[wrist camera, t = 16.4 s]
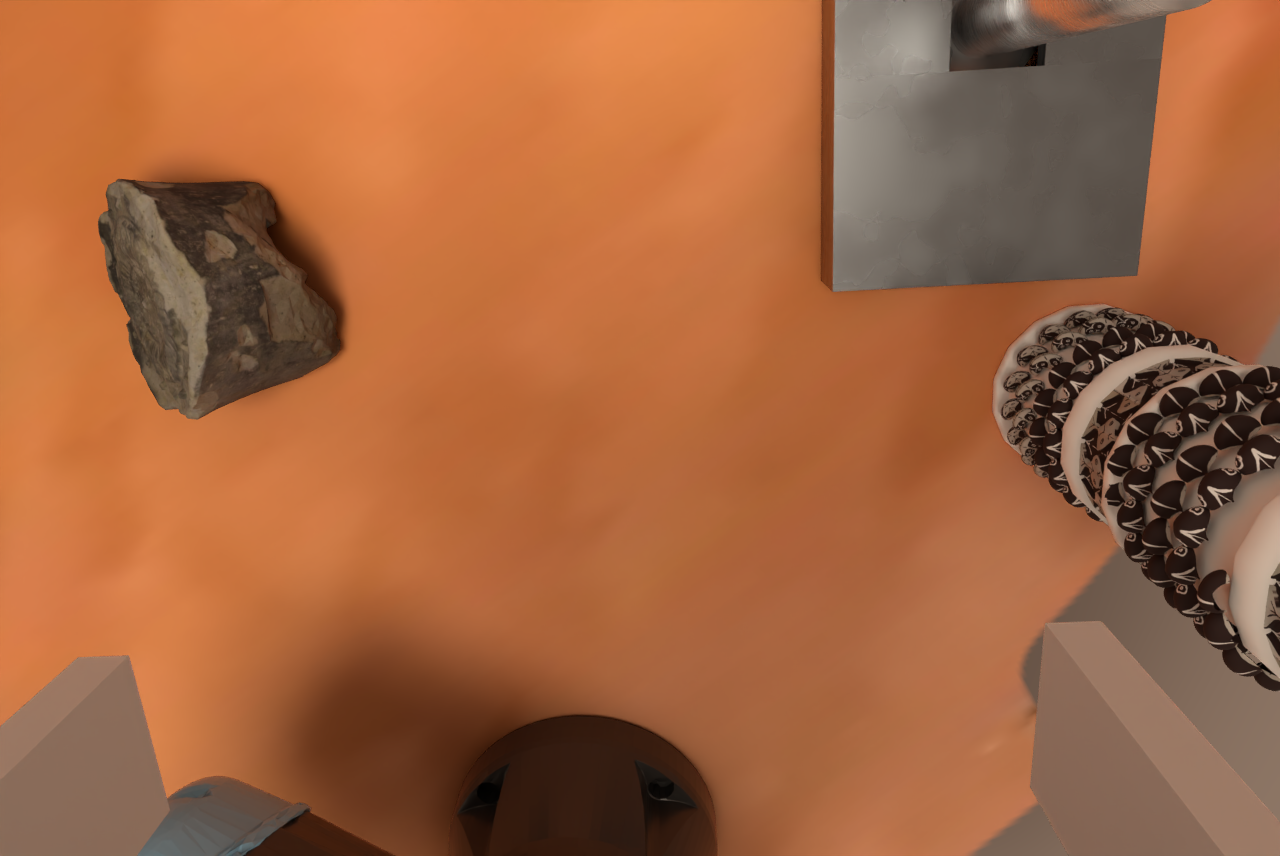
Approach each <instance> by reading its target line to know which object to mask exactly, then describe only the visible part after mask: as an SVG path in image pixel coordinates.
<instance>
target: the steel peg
mask: <svg viewBox="0 0 1280 856" xmlns="http://www.w3.org/2000/svg"><path fill="white" fill-rule="evenodd" d="M1209 1H1211V0H952V15H951V37H950V60H949V72H950V71H966V70H982V69H998V68H1013V67H1024V66H1025V65H1026V63H1027V62H1028V61H1029V60H1030V58H1031V57H1032V55H1033V54H1034V52H1035V50H1036V49H1037V47H1038V45H1041V44H1045V43H1049V42H1054V41H1058V40H1062V39H1066V38H1071V37H1075V36H1079V35H1083V34H1087V33H1092V32H1096V31H1100V30H1104V29H1108V28H1113V27H1117V26H1121V25H1125V24H1129V23H1134V22H1138V21H1142V20H1146V19H1151V18H1155V17H1159V16H1163V15H1167V14H1172V13H1176V12H1180V11H1184V10H1188V9H1192V8H1196V7H1199V6H1201V5H1204V4H1205V3H1207V2H1209Z"/></svg>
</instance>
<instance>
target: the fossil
mask: <svg viewBox="0 0 1280 856" xmlns="http://www.w3.org/2000/svg"><path fill="white" fill-rule="evenodd" d="M106 197H107V201H108V209H109V210H108V211H106V212H104V213H102V214H101V215H100V218H99V221H98V228H99V234H100V238H101V241H102V243H103V244H104V246H105V256H106V266H107V271H108V276H109V280H110V282H111V284H112V286H113V288H114V290H115V292H116V293H118V295H119V297H120V299H121V301H122V302H123V305H124V307H125V309H126V311H127V313H128V315H129V317H130V318H131V319H130V320H129V321H128V324H126V325H127V328H128V332H129V343H130V346H131V349H132V352H133V355H134V357H135V359H136V361H137V362H138V364H139V365H140V368H141V373H142V375H143V376H144V378H145V380H146V382H147V384H148V386H149V388H150V390H151V392H152V393H153V395H154V397H155V398H156V400H157V402H158V404H159V405H160V406H161V407H162V408H164V409H165V410H170V409H179V412H180V413H181V414H183V415H186V417H187V418H188V419H199V418H201V417H203V416H205V415H207V414H208V413H210V412H212V411H214V410H216V409H218V408H220V407H222V406H225V405H227V404H229V403H231V402H234V401H236V400H238V399H241V398H243V397H245V396H248V395H250V394H253V393H255V392H258V391H261V390H264V389H267V388H270V387H272V386H276V385H279V384H282V383H285V382H288V381H291V380H294V379H297V378H300V377H302V376H304V375H306V374H307V373H309V372H311V371H313V370H314V369H316V368H318V367H320V366H322V365H324V364H326V363H328V362H329V361H330V360H331V359H332V358H333V357H334V356H335V355H336V354H337V353H338V352H339V350H340V340H339V339H338V338H337V332H336V329H335V327H336V321H337V316H336V314H335V312H334V310H333V309H332V308H331V307H330V306H329V305H328V304H327V302H326V301H324V300H323V298H321V297H319V295H318V294H317V293H316V292H315V291H314V290H313V289H311V288H310V287H308V286H307V285H306V284H305V281H306V278H307V276H308V275H307V273H306V272H305V271H304V270H303V269H301V268H300V267H298V266H296V265H294V264H293V263H291V262H289V261H288V260H287V259H286V258H285V257H284V256H283V255H282V254H281V253H280V252H279V251H278V250H277V249H276V247H275V245H274V244H273V242H272V239H271V238H270V236H269V235H268V233H267V228H269V227H270V226H271V225H273V224H275V223H276V215H275V212H274V207H275V202H274V200H273V198H272V196H271V195H270V193H269V192H268V191H267V190H266V189H264V188H263V187H262V186H261V185H260V184H259V183H254V182H245V181H240V182H209V183H165V182H144V181H136V180H126V179H118V180H117V181H116V182H114V183H112V184H110V185H108V188H107V191H106Z"/></svg>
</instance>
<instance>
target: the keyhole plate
mask: <svg viewBox="0 0 1280 856" xmlns="http://www.w3.org/2000/svg"><path fill="white" fill-rule="evenodd" d="M951 15H952V0H822V143H821V281H822V282H823V283H824V284H825V285H826V286H827V287H828V288H829V289H831V290H832V291H833V292H837V291H856V290H875V289H893V288H912V287H931V286H950V285H969V284H988V283H1007V282H1026V281H1045V280H1064V279H1083V278H1102V277H1121V276H1137V274H1138V265H1139V256H1140V247H1141V238H1142V229H1143V220H1144V211H1145V202H1146V193H1147V184H1148V175H1149V166H1150V157H1151V148H1152V139H1153V130H1154V121H1155V112H1156V103H1157V94H1158V85H1159V76H1160V67H1161V59H1162V50H1163V41H1164V32H1165V23H1166V15H1163V16H1159V17H1155V18H1151V19H1146V20H1142V21H1138V22H1134V23H1129V24H1125V25H1121V26H1117V27H1113V28H1108V29H1104V30H1100V31H1096V32H1092V33H1087V34H1083V35H1079V36H1075V37H1071V38H1066V39H1062V40H1058V41H1054V42H1049V43H1045V44H1041V45H1038V58H1037V66H1029V67H1013V68H998V69H982V70H966V71H950V72H949V60H950V37H951Z"/></svg>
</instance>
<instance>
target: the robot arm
mask: <svg viewBox="0 0 1280 856" xmlns="http://www.w3.org/2000/svg"><path fill="white" fill-rule="evenodd" d="M1041 662H1042V663H1041V672H1040V673H1041V674H1040V684H1039V694H1038V705H1037V716H1036V727H1035V738H1034V749H1033V760H1032V771H1031V782H1030V787H1031V789H1032V791H1033V793H1034V795H1035V796H1036V798H1037V800H1038V802H1039V804H1040V806H1041V807H1042V809H1043V811H1044V813H1045V815H1046V816H1047V818H1048V820H1049V822H1050V823H1051V825H1052V827H1053V829H1054V830H1055V832H1056V834H1057V836H1058V838H1059V840H1060V841H1061V843H1062V845H1063V847H1064V849H1065V850H1066V852H1067V854H1068V856H1280V821H1278V819H1277V818H1276V817H1275V816H1274V815H1273V814H1272V813H1271V811H1270V810H1269V809H1268V808H1267V807H1266V806H1265V805H1264V804H1263V802H1262V801H1261V800H1260V799H1259V798H1258V797H1257V796H1256V795H1255V793H1254V792H1253V791H1252V790H1251V789H1250V788H1249V787H1248V786H1247V784H1246V783H1245V782H1244V781H1243V780H1242V779H1241V778H1240V777H1239V775H1238V774H1237V773H1236V772H1235V771H1234V770H1233V769H1232V768H1231V766H1230V765H1229V764H1228V763H1227V762H1226V761H1225V760H1224V759H1223V757H1222V756H1221V755H1220V754H1219V753H1218V752H1217V751H1216V750H1215V748H1214V747H1213V746H1212V745H1211V744H1210V743H1209V742H1208V741H1207V739H1206V738H1205V737H1204V736H1203V735H1202V734H1201V733H1200V732H1199V730H1198V729H1197V728H1196V727H1195V726H1194V725H1193V724H1192V723H1191V721H1190V720H1189V719H1188V718H1187V717H1186V716H1185V715H1184V714H1183V713H1182V711H1181V710H1180V709H1179V708H1178V707H1177V706H1176V705H1175V704H1174V703H1173V701H1172V700H1171V699H1170V698H1169V697H1168V696H1167V695H1166V693H1165V692H1164V691H1163V690H1162V689H1161V688H1160V687H1159V686H1158V684H1157V683H1156V682H1155V681H1154V680H1153V679H1152V678H1151V677H1150V675H1149V674H1148V673H1147V672H1146V671H1145V670H1144V669H1143V668H1142V667H1141V665H1140V664H1139V663H1138V662H1137V661H1136V660H1135V659H1134V657H1132V655H1131V654H1130V653H1129V652H1128V651H1127V650H1126V648H1125V647H1124V646H1123V645H1122V644H1121V643H1120V642H1119V641H1118V640H1117V638H1116V637H1115V636H1114V635H1113V634H1112V633H1111V632H1110V631H1109V629H1107V627H1106V626H1105V625H1104V624H1103V623H1102V621H1089V622H1059V623H1045V628H1044V639H1043V651H1042V661H1041ZM310 811H311V807H309V806H308V805H307V804H304V803H296V804H292V803H289V802H287V801H285V800H283V799H280V798H278V797H276V796H273V795H271V794H269V793H266V792H264V791H262V790H260V789H257V788H255V787H253V786H250V785H248V784H246V783H244V782H241V781H239V780H237V779H233V778H229V777H223V776H213V777H207V778H203V779H200V780H197V781H195V782H192V783H190V784H188V785H186V786H184V787H183V788H181V789H179V790H178V791H176V792H175V793H174V794H172V795H171V796H170V797H169V798H167V797H166V793H165V789H164V786H163V782H162V778H161V774H160V770H159V767H158V763H157V759H156V755H155V752H154V748H153V744H152V740H151V737H150V733H149V729H148V725H147V722H146V718H145V714H144V710H143V706H142V703H141V699H140V695H139V691H138V688H137V684H136V680H135V676H134V673H133V669H132V665H131V661H130V658H129V656H102V657H78V658H77V659H76V660H74V661H73V662H72V663H71V664H70V665H69V666H68V667H67V668H66V669H64V670H63V671H62V672H61V673H60V674H59V675H58V676H57V677H55V678H54V679H53V680H52V681H51V682H50V683H49V684H48V685H46V686H45V687H44V688H43V689H42V690H41V691H40V692H39V693H37V694H36V695H35V696H34V697H33V698H32V699H31V700H30V701H28V702H27V703H26V704H25V705H24V706H23V707H22V708H21V709H19V710H18V711H17V712H16V713H15V714H14V715H13V716H12V717H10V718H9V719H8V720H7V721H6V722H5V723H4V724H3V725H1V726H0V856H395V855H393V854H391V853H389V852H387V851H385V850H383V849H381V848H379V847H377V846H375V845H373V844H371V843H369V842H367V841H365V840H363V839H361V838H359V837H357V836H355V835H353V834H351V833H349V832H347V831H346V830H344V829H342V828H340V827H338V826H336V825H334V824H332V823H330V822H328V821H326V820H324V819H322V818H320V817H318V816H316V815H314V814H312V813H310ZM449 856H717V834H716V820H715V812H714V807H713V803H712V800H711V797H710V794H709V792H708V789H707V787H706V785H705V783H704V782H703V780H702V778H701V776H700V775H699V774H698V772H697V771H696V769H695V768H694V767H693V766H692V764H691V763H690V762H689V761H688V760H687V759H686V758H685V757H684V756H683V755H682V754H681V753H680V752H679V751H678V750H676V749H675V748H674V747H673V746H671V745H670V744H669V743H667V742H666V741H664V740H663V739H661V738H659V737H658V736H656V735H654V734H652V733H650V732H648V731H646V730H644V729H641V728H639V727H636V726H634V725H631V724H628V723H625V722H621V721H617V720H612V719H607V718H600V717H589V716H571V717H560V718H554V719H548V720H544V721H540V722H536V723H533V724H531V725H528V726H525V727H523V728H520V729H518V730H516V731H514V732H512V733H510V734H508V735H507V736H505V737H503V738H502V739H500V740H499V741H498V742H496V743H495V744H494V745H492V746H491V747H490V748H489V749H488V750H487V751H486V752H485V753H484V754H483V755H482V756H481V757H480V758H479V759H478V760H477V761H476V763H475V764H474V765H473V767H472V768H471V770H470V771H469V773H468V775H467V776H466V778H465V781H464V783H463V785H462V788H461V790H460V794H459V797H458V800H457V803H456V806H455V810H454V813H453V816H452V820H451V825H450V833H449Z"/></svg>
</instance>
